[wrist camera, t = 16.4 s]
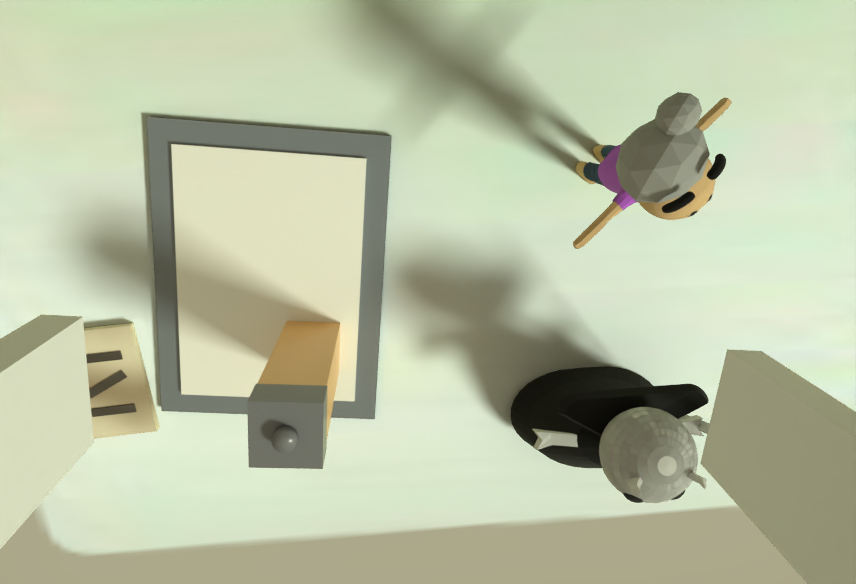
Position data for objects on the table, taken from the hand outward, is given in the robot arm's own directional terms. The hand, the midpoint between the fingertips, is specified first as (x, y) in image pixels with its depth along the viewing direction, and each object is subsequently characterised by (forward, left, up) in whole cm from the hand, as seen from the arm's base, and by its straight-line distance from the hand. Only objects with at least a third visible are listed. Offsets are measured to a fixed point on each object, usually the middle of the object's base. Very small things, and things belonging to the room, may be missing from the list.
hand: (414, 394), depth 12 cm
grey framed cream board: (+6, -8, -29) cm, 30 cm away
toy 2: (+13, +15, -29) cm, 35 cm away
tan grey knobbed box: (+10, -5, -28) cm, 30 cm away
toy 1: (-4, +12, -29) cm, 32 cm away
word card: (+14, -19, -29) cm, 37 cm away
